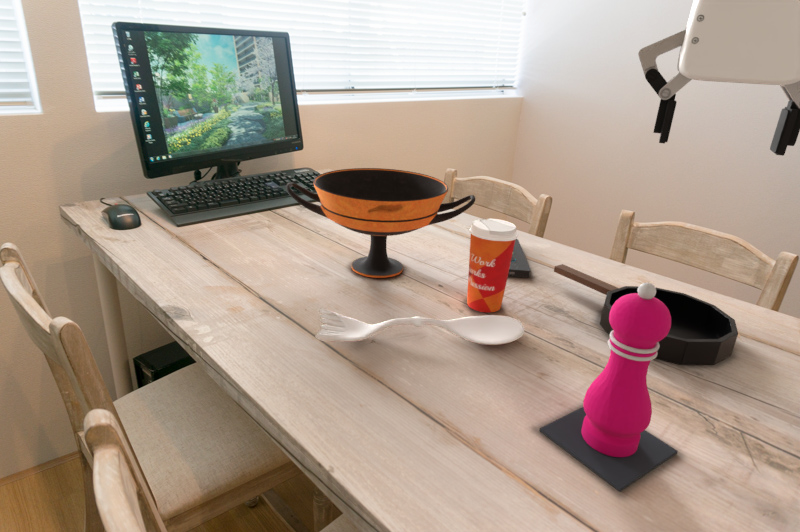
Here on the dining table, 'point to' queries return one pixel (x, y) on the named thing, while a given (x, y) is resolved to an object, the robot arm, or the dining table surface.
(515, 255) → the smart home device
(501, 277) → the coffee cup
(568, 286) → the dining table surface
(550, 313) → the dining table surface
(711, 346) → the pan
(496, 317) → the spoon
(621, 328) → the pepper mill
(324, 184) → the cup
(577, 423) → the slate mat
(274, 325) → the dining table surface
